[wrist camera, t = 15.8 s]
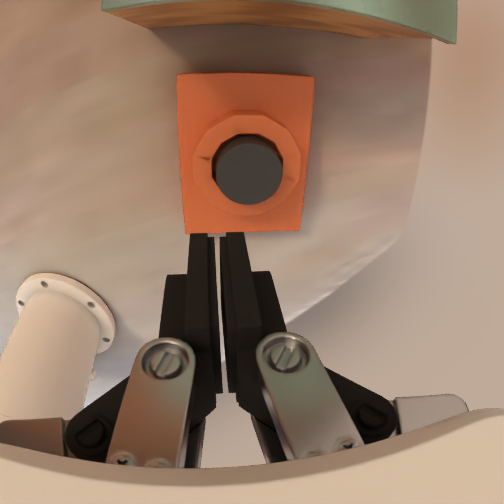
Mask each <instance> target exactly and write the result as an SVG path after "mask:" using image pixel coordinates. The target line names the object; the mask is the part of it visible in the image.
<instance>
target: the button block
mask: <svg viewBox="0 0 504 504" xmlns="http://www.w3.org/2000/svg"><path fill="white" fill-rule="evenodd" d="M314 84H315V77H311V76H306V75H294V74H279V73H257V72H209V73H187V74H179V75H177V111H178V136H179V155H180V171H181V186H182V199H183V211H184V223H185V233H186V234H190V233H226V232H261V231H299V230H300V224H301V216H302V207H303V199H304V190H305V181H306V172H307V162H308V153H309V142H310V132H311V121H312V109H313V97H314ZM247 136H249V137H256V138H259V139H262V140H264V141H265V142H267V143H268V144H269V145H270V146H271V147H272V148H273V150H274V151H275V153H276V155H277V156H278V158H279V160H280V162H281V165H282V169H283V176H282V181H281V184H280V186H279V188H278V190H277V191H276V192H275V193H274V194H273V195H272V196H271V197H270V198H269V199H267V200H265V201H263V202H261V203H258V204H253V205H243V204H239V203H236V202H233V201H231V200H230V199H228V198H227V197H226V196H225V195H224V194H223V193H222V192H221V190H220V189H219V187H218V184H217V180H216V161H217V157H218V155H219V153H220V151H221V150H222V148H223V147H224V146H225V145H226V144H228V143H229V142H230V141H232V140H234V139H237V138H240V137H247Z"/></svg>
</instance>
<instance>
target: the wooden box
mask: <svg viewBox="0 0 504 504" xmlns="http://www.w3.org/2000/svg"><path fill="white" fill-rule="evenodd" d="M108 13H110V14H113V15H115V16H118V17H121V18H123V19H126V20H128V21H131V22H133V23H136V24H138V25H141V26H143V27H145V28H148V29H150V28H159V27H169V26H180V25H196V24H259V25H276V26H287V27H297V28H306V29H314V30H321V31H327V32H333V33H339V34H345V35H350V36H355V37H360V38H389V37H406V38H432V37H429V36H426V35H424V34H421V33H418V32H415V31H412V30H409V29H406V28H403V27H400V26H396V25H393V24H390V23H386V22H382V21H379V20H375V19H371V18H367V17H363V16H359V15H354V14H350V13H345V12H340V11H335V10H329V9H323V8H317V7H311V6H303V5H295V4H286V3H275V2H261V1H234V0H218V1H191V2H177V3H166V4H157V5H149V6H142V7H136V8H130V9H124V10H118V11H113V12H108Z"/></svg>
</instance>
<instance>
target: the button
mask: <svg viewBox="0 0 504 504" xmlns="http://www.w3.org/2000/svg"><path fill="white" fill-rule="evenodd" d="M282 176H283V169H282V165H281V162H280V160H279V158H278V156H277V155H276V153H275V151H274V150H273V148H272V147H271V146H270V145H269V144H268V143H267V142H265V141H264V140H262V139H259V138H256V137H249V136H247V137H240V138H237V139H234V140H232V141H230V142H229V143H228V144H226V145H225V146H224V147H223V148H222V150H221V151H220V153H219V155H218V157H217V161H216V180H217V184H218V187H219V189H220V190H221V192H222V193H223V194H224V195H225V196H226V197H227V198H228V199H230V200H231V201H233V202H236V203H239V204H243V205H253V204H258V203H261V202H263V201H265V200H267V199H269V198H270V197H271V196H272V195H273V194H274V193H275V192H276V191H277V190H278V188H279V186H280V184H281V181H282Z"/></svg>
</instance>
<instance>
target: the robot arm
mask: <svg viewBox="0 0 504 504" xmlns="http://www.w3.org/2000/svg"><path fill="white" fill-rule="evenodd" d="M220 283H221V310H222V323H223V336H224V348H225V359H226V370H227V381H228V390H229V393H236V400H237V402H239V406H240V407H241V408H243V409H244V410H246V411H247V412H248V413H250V414H251V420H252V423H253V426H254V429H255V432H256V434H257V438H258V440H259V444H260V446H261V449H262V452H263V455H264V458H265V461H266V464H261V465H251V466H239V467H224V468H200V465H201V457H202V448H203V440H204V431H205V422H206V419H205V417H206V416H207V415H208V414H210V413H211V412H212V411H213V410H214V409H215V408H216V394H219V393H223V388H222V372H221V352H220V332H219V315H218V300H217V282H216V264H215V243H214V237H208V235H207V233H190V243H189V256H188V270H187V274H177V275H167V277H166V283H165V290H164V298H163V306H162V314H161V322H160V331H159V338H158V339H154V340H152V341H150V342H148V343H146V344H145V345H144V346H143V347H142V348H141V349H140V350H139V352H138V354H137V356H136V359H135V362H134V365H133V368H132V371H131V374H130V376H128V377H127V378H126V379H124V380H123V381H121V382H120V383H119V384H117V385H116V386H115V387H113V388H112V389H111V390H109V391H108V392H106V393H105V394H104V395H102V396H101V397H99V398H98V399H97V400H95V401H94V402H93V403H91V404H90V405H88V406H87V407H86V408H84V403H85V398H86V394H87V389H88V384H89V380H94V379H95V378H96V373H95V371H94V370H93V368H92V367H93V363H94V359H95V355H97V354H100V353H102V352H104V351H105V350H107V349H108V348H109V347H110V346H111V344H112V342H113V339H114V336H115V329H116V328H115V321H114V318H113V316H112V313H111V312H110V310H109V308H108V307H107V305H106V304H105V303H104V302H103V301H102V299H101V298H100V297H99V296H97V295H96V294H95V293H94V292H93V291H92V290H90V289H89V288H87V287H86V286H85V285H83V284H81V283H79V282H78V281H76V280H74V279H71V278H69V277H66V276H63V275H59V274H54V273H39V274H34V275H32V276H30V277H28V278H27V279H26V280H25V281H23V283H22V285H21V286H20V288H19V290H18V292H17V295H16V305H17V310H18V312H19V315H20V317H19V319H18V321H17V323H16V325H15V327H14V329H13V331H12V333H11V335H10V338H9V340H8V342H7V344H6V347H5V349H4V351H3V354H2V356H1V358H0V504H504V409H502V408H484V409H477V410H473V411H469V410H468V407H467V405H466V403H465V402H464V401H463V400H462V399H461V398H460V397H458V396H456V395H454V394H442V395H430V396H416V397H415V396H414V397H396V398H395V399H394V400H393V401H388V400H387V399H385V398H383V397H382V396H380V395H378V394H376V393H374V392H372V391H370V390H368V389H366V388H364V387H362V386H360V385H358V384H356V383H354V382H353V381H351V380H349V379H347V378H345V377H343V376H341V375H339V374H337V373H335V372H333V371H332V370H330V369H328V368H326V367H324V366H323V364H322V362H321V360H320V358H319V357H318V355H317V353H316V351H315V349H314V347H313V346H312V345H311V343H310V342H309V341H308V340H306V339H305V338H304V337H303V336H300V335H298V334H295V333H291V332H287V330H286V326H285V323H284V319H283V315H282V312H281V308H280V304H279V301H278V297H277V294H276V290H275V286H274V283H273V279H272V276H271V273H270V271H257V272H252V271H251V266H250V261H249V256H248V251H247V246H246V241H245V236H244V232H226V237H220ZM83 408H84V409H83Z"/></svg>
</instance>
